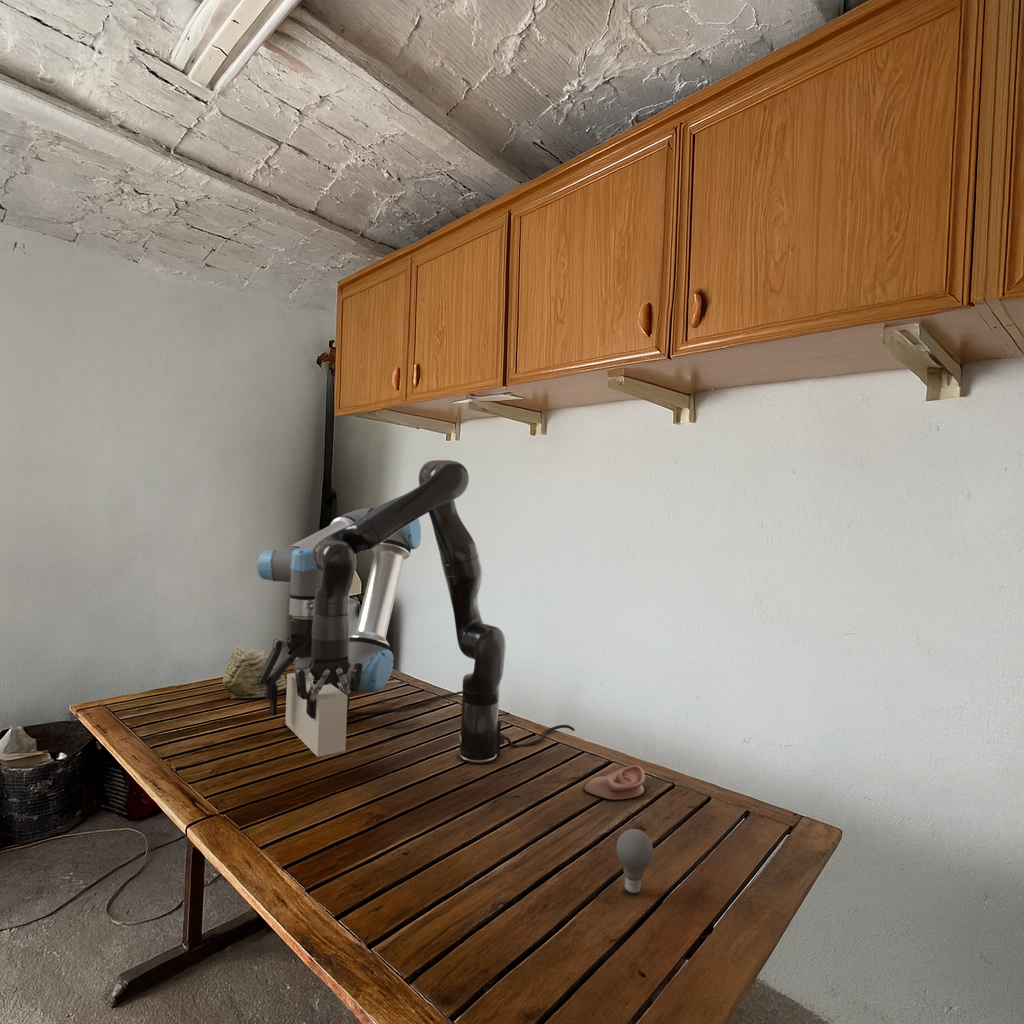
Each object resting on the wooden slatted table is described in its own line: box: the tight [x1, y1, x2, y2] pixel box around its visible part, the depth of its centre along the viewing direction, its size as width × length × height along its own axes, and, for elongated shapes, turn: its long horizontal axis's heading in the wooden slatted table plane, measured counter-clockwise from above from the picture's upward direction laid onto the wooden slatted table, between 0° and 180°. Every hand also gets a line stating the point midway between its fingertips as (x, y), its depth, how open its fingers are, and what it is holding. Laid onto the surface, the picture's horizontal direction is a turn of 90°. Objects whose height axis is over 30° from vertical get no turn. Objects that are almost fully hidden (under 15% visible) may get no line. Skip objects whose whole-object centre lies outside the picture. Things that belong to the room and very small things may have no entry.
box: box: [284, 672, 348, 758], centre depth 139 cm, size 22×6×12 cm, turn 36°
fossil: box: [222, 646, 287, 699], centre depth 198 cm, size 9×18×15 cm, turn 132°
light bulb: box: [615, 828, 654, 894], centre depth 106 cm, size 6×6×10 cm
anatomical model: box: [584, 765, 646, 800], centre depth 143 cm, size 13×4×12 cm
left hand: (303, 709), depth 145 cm, fingers open, 13 cm apart
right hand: (327, 714), depth 132 cm, fingers closed on box, 6 cm apart
